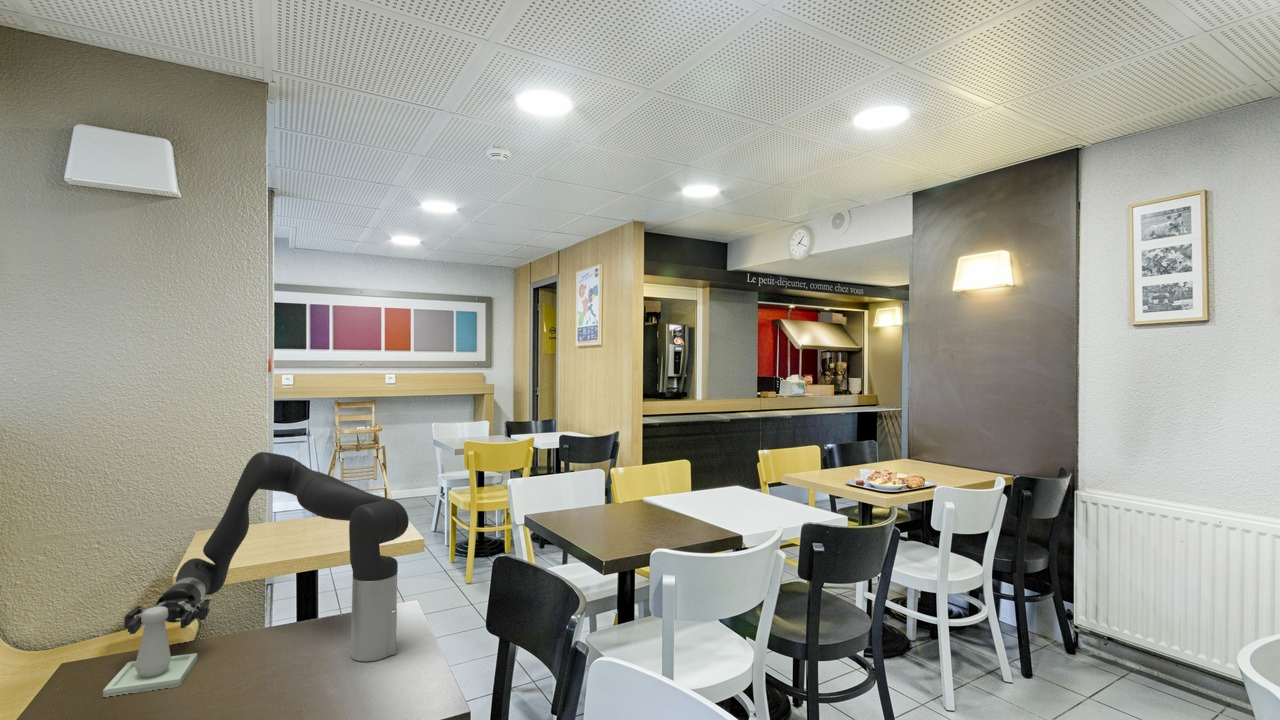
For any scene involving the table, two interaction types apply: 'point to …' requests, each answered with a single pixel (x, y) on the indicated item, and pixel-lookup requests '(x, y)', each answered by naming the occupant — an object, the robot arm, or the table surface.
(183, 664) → the tray
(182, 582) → the robot arm
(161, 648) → the salt shaker
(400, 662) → the table surface
